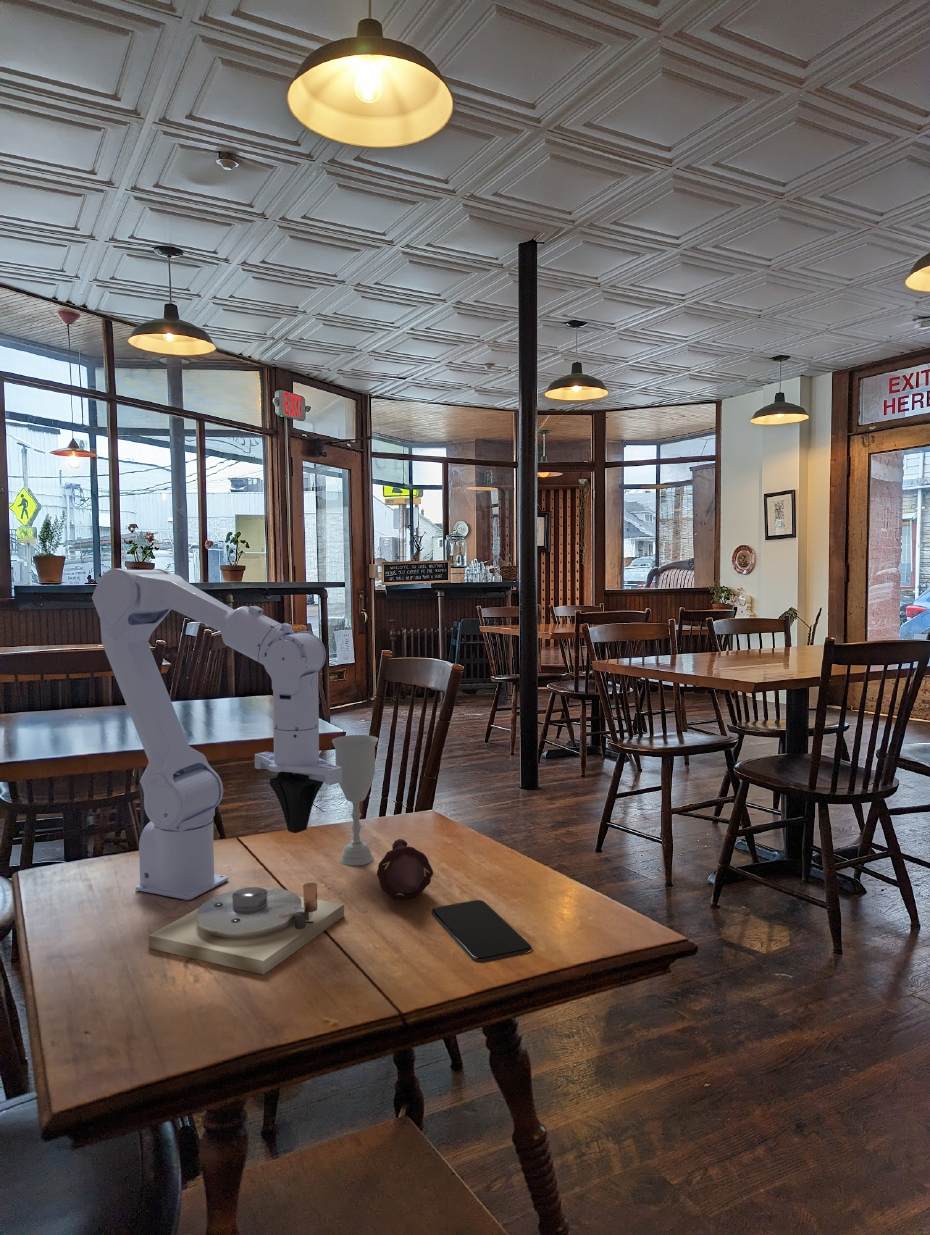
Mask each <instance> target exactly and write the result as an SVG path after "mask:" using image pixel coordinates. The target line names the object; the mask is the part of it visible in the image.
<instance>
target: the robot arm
mask: <svg viewBox="0 0 930 1235" xmlns="http://www.w3.org/2000/svg"><path fill="white" fill-rule="evenodd" d="M91 599H92V602H93V604H94V607H95V609H96V612H97V615H98V617H99V619H100V636H101V643H102V647H103V649H104V652H105V654H106V657H107V660H108V662H109V664H110V667H111V670H112V672H113V675H114V678H115V679H116V682H117V685H118V687H119V690H120V692H121V694H122V697H123V699H124V702H125V705H126V708H127V710H128V713H129V715H130V717H131V720H132V723H133V725H134V728H135V730H136V733H137V735H138V738H139V740H140V742H141V745H142V747H143V750H144V753H145V755H146V758H147V760H148V763H147V766H146V768H145V770H144V771H143V773H142V776H141V778H140V780H139V783H140V785H141V788H142V791H143V809H144V811H145V814H146V816H147V818H148V820H149V822H148V823H147V824H146V825H145V826H144V828H143V829H142V832H141V834H140V837H139V842H138V851H139V852H138V856H139V857H138V858H139V859H138V860H139V881H140V882H139V884H137V885H136V886H135V891H140V892H144V893H151V894H155V895H160V896H165V897H170V898H176V899H181V900H184V901H185V900H186V901H190V900H193V899H195V898H197V897H198V896H200V895H203V894H204V893H206V892H207V891H209V890H213V889H214V888H215V887H218V886H219V885H222V884H223V883H225V882H227V881H229V876H228V875H223V874H219V873H218V874H216V873H215V852H214V851H215V848H214V846H215V845H214V817H215V816H216V807H217V806H219V805H220V803H221V801H222V799H223V797H224V786H223V781H222V779H221V777H220V775H219V774H218V772H216V771H215V770H214V769H213V768H212V767H211V765H210V764H209V762H208V760H207V757H206V755H205V754H203V753H202V752H200V751H198V750H196V749H194V747H192V746H190V744H189V742H188V740H187V737H186V735H185V732H184V730H183V727H182V725H181V722H180V720H179V717H178V714H177V712H176V710H175V707H174V704H173V702H172V700H171V696H170V695H169V692H168V690H167V687H166V684H165V682H164V679H163V677H162V675H161V672H160V670H159V668H158V665H157V663H156V659H155V657H154V654H153V652H152V650H151V646H150V645H149V640H150V638H151V636H152V634H153V632H155V629H156V628H158V626H159V624H161V623H162V621H163V620H164V619H165V618H166V617H167V615H168V614H169V613H170V611H171V610H173V611H175V612H178V613H180V614H181V615H183V616H185V617H188V618H189V619H192V620H194V621H197V622H199V623H201V624H204V625H205V626H207V627H209V628H212V629H214V630H217V631H219V632H220V635H221V638H222V642H223V643H224V644H225V646H227V647H229V648H231V649H233V650H235V651H237V652H238V653H240V654H243V655H244V656H246V657H248V658H249V659H252V660H254V661H256V662H257V663H259V664H261V665H263V667H264V669H265V671H266V673H267V674H268V675H269V677H270V679H271V690H272V692H273V693H272V697H273V698H272V699H273V700H272V703H273V708H272V709H273V711H272V713H273V714H272V715H273V716H272V717H273V752H270V751H264V752H258V753H255V754H254V769H256V770H263V769H266V770H268V772H269V771H270V772H275V773H277V774H276V776H274V777H272V778H270V779H269V786H270V787H271V789H272V791H274V793H275V795H276V798H277V799H278V803H279V805H280V806H281V810H282V813H283V816H284V821H285V823H286V824H285V825H286V828H287V832H289V833H292V834H297V833H300V832H303V831H306V830H307V829H308V824H309V820H310V815H311V812H312V809H313V805H314V804H315V800H316V797H317V795H318V793H319V791H320V789H321V788H322V787H323V786H322V785H323V784H324V783H325V785H327V786H333V785H336V784H339V783H340V782H342V767H339V766H336V764H334V763H333V764H332V763H330V762H328V761H326V760H324V759H322V758H320V728H319V727H320V719H319V718H320V714H319V712H320V711H319V709H320V708H319V707H320V706H319V699H320V697H319V672H320V671H321V669H322V668H323V667H324V665H325V662H326V658H327V657H326V656H327V654H326V648H325V645H324V643H323V641H322V640H321V639H320V638H319V637H318V636H317V635H315V634H314V633H313V632H312V631H309V630H302V631H298V632H295V631H294V629H293V625H291V624H290V623H288V622H284V623H281V622H278V621H277V620H275V619H273V618H270V617H269V616H266V615H265V614H263V612H264V609H263V608H261V607H260V606H257V605H252V606H247V605H244V606H240V607H238V608H236V609H234V608H232V607H231V606H229V605H227V604H225V603H224V602H221V601H220V600H218V599H216V598H215V597H213V596H212V595H209V594H208V593H206V592H205V591H203V590H201V589H199V588H198V587H196V586H194V585H192V584H191V583H190V582H188V581H186V580H185V579H184V578H183V577H182V576H180V575H178V574H174V573H173V574H172V573H171V572H169V571H168V570H166V569H163V568H153V569H123V568H112V569H108V570H107V571H105V572H104V573H103V574H102V575H101V576H100V577H99V580H98V582H97V584H96V587H95V589H94V591H93V594H92V595H91ZM174 774H176V775H174Z"/></svg>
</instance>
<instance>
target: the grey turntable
mask: <svg viewBox="0 0 930 1235" xmlns="http://www.w3.org/2000/svg"><path fill="white" fill-rule="evenodd" d="M248 887H249V886H248ZM302 888H303V889H302V891H303V892H302V893H303V896H302V897H303V899H304V908H302V902H301V899H300V897H299V896H300V895H298V894H297V893H295V892H292V891H291V890H288V889H283V888H279V887H270V886H269V887H268V886H267V887H266V886H265V887H264V886H263V887H261V886H260V887H259V886H251V887H249V888H243V889H240V890H235V891H231V890H230V891H231V892H229V891H227V892H225V893H221V894H218V895H216V896H213V897H211V898H209V899H208V900H206V901H205V902H204V903H202V904H201V905H200V906H199V907H198V908H199V909H198V908H197V909H198V911H197V924H198V926H199V928H200V929H201V930H203V931H204V932H206V933H209V934H211V935H215V936H221V937H233V938H238V937H251V936H258V935H263V934H267V933H271V932H274V931H277V930H280V929H283V928H285V927H287V926H289V925H290V924H292V923H293V922H295V914H296V913H299V912H304V913H305V919H306V921H309V920H310V919H311V918H312V912H314V911H316V910H317V909H318V907H317V900H318V884H317V883H316V882H307V883H304V884H303V887H302Z"/></svg>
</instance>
